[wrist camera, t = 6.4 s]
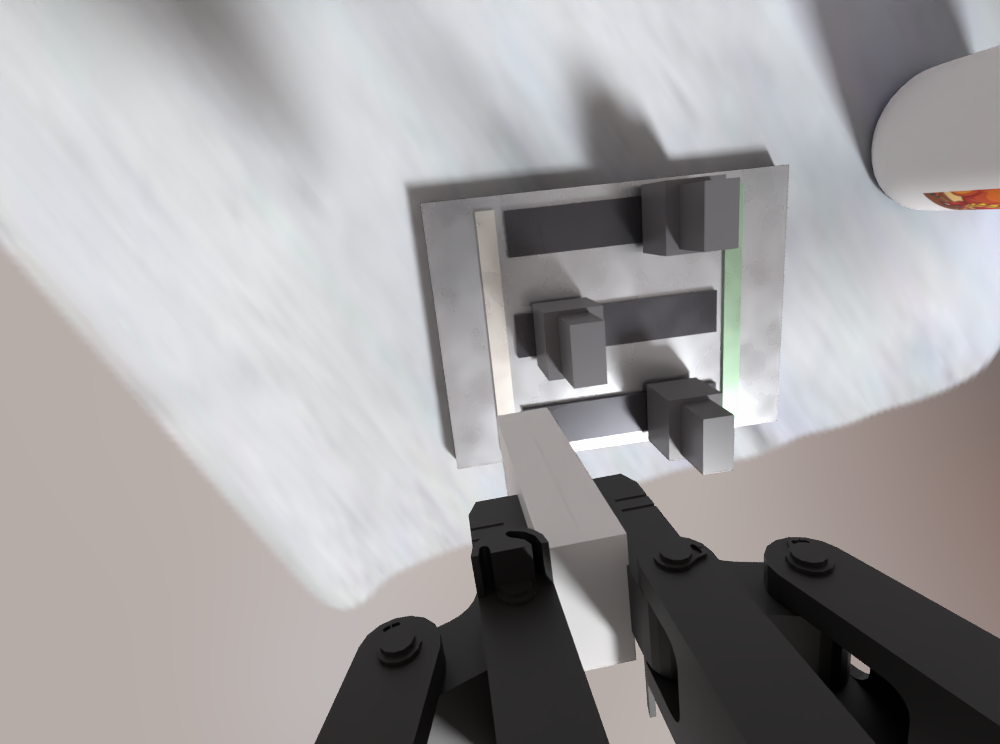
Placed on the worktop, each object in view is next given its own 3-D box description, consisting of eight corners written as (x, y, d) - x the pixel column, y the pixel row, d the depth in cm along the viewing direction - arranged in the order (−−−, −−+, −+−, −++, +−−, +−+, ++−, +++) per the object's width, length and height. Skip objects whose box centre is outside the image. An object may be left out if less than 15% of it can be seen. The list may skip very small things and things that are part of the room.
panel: (420, 204, 28) (420, 203, 27) (775, 166, 30) (793, 163, 28) (456, 460, 32) (458, 471, 31) (765, 414, 34) (780, 422, 33)
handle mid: (532, 303, 29) (554, 321, 23) (586, 296, 29) (619, 313, 24) (537, 365, 30) (559, 395, 24) (589, 358, 30) (622, 387, 25)
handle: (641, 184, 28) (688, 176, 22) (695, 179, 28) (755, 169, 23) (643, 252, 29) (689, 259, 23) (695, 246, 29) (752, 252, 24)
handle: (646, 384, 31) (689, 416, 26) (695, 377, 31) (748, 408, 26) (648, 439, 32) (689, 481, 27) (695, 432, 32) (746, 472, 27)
